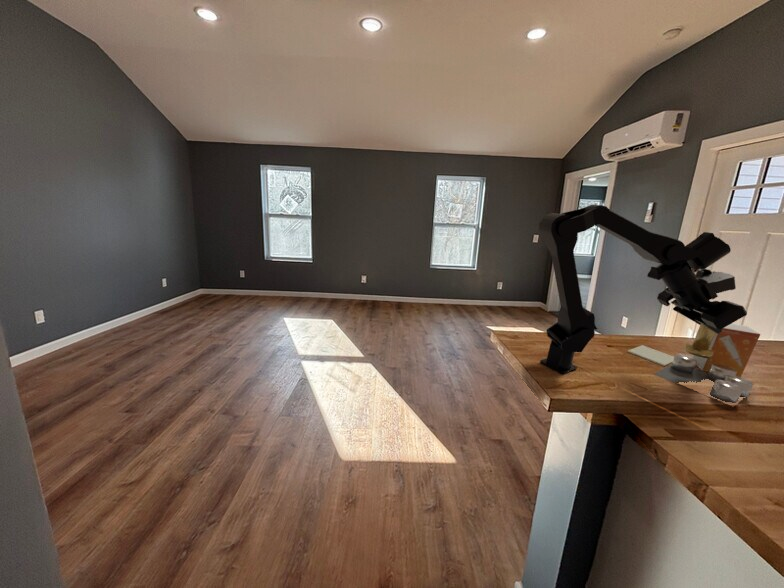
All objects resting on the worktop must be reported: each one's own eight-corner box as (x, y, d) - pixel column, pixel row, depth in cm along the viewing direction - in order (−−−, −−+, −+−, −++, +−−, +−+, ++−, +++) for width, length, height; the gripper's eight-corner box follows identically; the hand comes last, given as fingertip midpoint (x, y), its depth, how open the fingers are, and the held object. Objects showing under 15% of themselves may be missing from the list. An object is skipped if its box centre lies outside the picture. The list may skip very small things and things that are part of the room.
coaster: (663, 367, 86) (664, 364, 86) (627, 353, 94) (627, 350, 93) (677, 361, 91) (678, 358, 91) (641, 347, 98) (642, 345, 98)
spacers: (735, 407, 70) (741, 394, 69) (654, 373, 82) (658, 361, 81) (755, 391, 77) (761, 378, 76) (678, 362, 89) (682, 351, 88)
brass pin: (708, 360, 77) (729, 309, 73) (681, 350, 81) (700, 302, 77) (714, 355, 80) (735, 306, 76) (688, 346, 84) (706, 299, 80)
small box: (701, 372, 85) (720, 327, 82) (690, 361, 91) (707, 319, 87) (741, 380, 83) (761, 333, 79) (727, 368, 88) (745, 325, 85)
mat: (733, 409, 70) (733, 407, 70) (652, 375, 82) (653, 373, 82) (753, 392, 77) (754, 390, 77) (676, 363, 89) (677, 361, 89)
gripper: (756, 268, 65) (790, 325, 67) (684, 253, 83) (714, 298, 85) (700, 301, 68) (735, 354, 70) (643, 279, 85) (672, 322, 88)
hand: (713, 329), depth 78 cm, fingers closed on brass pin, 3 cm apart
